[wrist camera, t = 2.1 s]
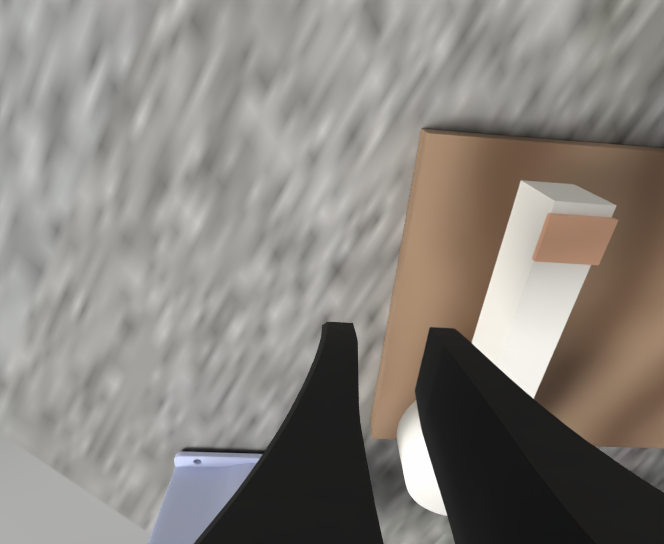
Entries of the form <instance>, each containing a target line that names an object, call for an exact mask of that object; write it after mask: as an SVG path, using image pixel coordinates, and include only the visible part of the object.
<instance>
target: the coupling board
mask: <svg viewBox="0 0 664 544" xmlns="http://www.w3.org/2000/svg"><path fill="white" fill-rule="evenodd" d="M521 180H523V181H537V182H551V183H564V184H574V185H576V186H578V187H581V188H583V189H585V190H587V191H589V192H591V193H593V194H595V195H597V196H599V197H601V198H603V199H605V200H607V201H609V202H611V203H613V204H615V205H617V206H616V208H615V211H614V213H613V215H612V218H616V219H618V223H617V225H616V227H615V229H614V232H613V234H612V236H611V239H610V241H609V243H608V245H607V248H606V250H605V252H604V254H603V257H602V259H601V261H600V264H599V265H591V266H590V269H589V271H588V273H587V276H586V278H585V280H584V283H583V285H582V287H581V290H580V292H579V294H578V297H577V299H576V301H575V304H574V306H573V308H572V311H571V313H570V315H569V318H568V320H567V322H566V325H565V327H564V329H563V332H562V334H561V336H560V339H559V341H558V343H557V345H556V348H555V350H554V352H553V355H552V357H551V359H550V362H549V364H548V366H547V369H546V371H545V373H544V376H543V378H542V380H541V383H540V385H539V387H538V390H537V392H536V394H535V397H534V400H536V401H537V402H538V403H539V404H540V405H542V406H543V407H544V408H545V409H547V410H548V411H549V412H550V413H552V414H553V415H554V416H555V417H557V418H558V419H559V420H560V421H562V422H563V423H564V424H565V425H567V426H568V427H569V428H570V429H572V430H573V431H574V432H576V433H577V434H578V435H580V436H581V437H582V438H584V439H585V440H586V441H588V442H589V443H591V444H592V445H593V446H609V447H638V448H664V148H656V147H643V146H631V145H618V144H606V143H593V142H581V141H568V140H556V139H543V138H531V137H519V136H506V135H494V134H481V133H469V132H456V131H444V130H431V129H421V134H420V140H419V146H418V151H417V157H416V163H415V168H414V174H413V180H412V186H411V191H410V197H409V203H408V208H407V214H406V220H405V226H404V231H403V237H402V243H401V248H400V254H399V260H398V266H397V271H396V277H395V283H394V288H393V294H392V300H391V306H390V311H389V317H388V323H387V329H386V334H385V340H384V346H383V351H382V357H381V363H380V369H379V374H378V380H377V386H376V391H375V397H374V403H373V409H372V414H371V420H370V426H371V434H372V439H397V427H398V424H399V421H400V419H401V417H402V415H403V414H404V413H405V411H406V410H407V408H408V407H409V406H410V405H411V404H412V403H413V402H414V401H416V396H415V387H416V383H417V379H418V374H419V370H420V366H421V362H422V358H423V353H424V349H425V345H426V341H427V336H428V332H429V328H430V327H439V328H455V329H456V330H457V331H458V332H460V333H461V334H462V335H463V336H464V337H465V338H467V339H468V340H469V341H470V342H471V343H472V340H473V337H474V333H475V330H476V327H477V323H478V320H479V317H480V313H481V310H482V307H483V304H484V300H485V297H486V294H487V290H488V287H489V284H490V281H491V277H492V274H493V271H494V267H495V264H496V261H497V257H498V254H499V251H500V248H501V244H502V241H503V238H504V234H505V231H506V228H507V225H508V221H509V218H510V215H511V211H512V208H513V205H514V201H515V198H516V195H517V192H518V188H519V185H520V182H521Z"/></svg>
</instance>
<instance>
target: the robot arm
mask: <svg viewBox="0 0 664 544" xmlns="http://www.w3.org/2000/svg"><path fill="white" fill-rule="evenodd" d="M415 396H416V402H417V408H418V414H419V419H420V425H421V430H422V434H423V437H424V441H425V444H426V447H427V451H428V454H429V457H430V461H431V464H432V467H433V470H434V474H435V477H436V480H437V483H438V487H439V490H440V493H441V497H442V500H443V503H444V506H445V510H446V513H447V516H448V519H449V523H450V526H451V530H452V534H453V537H454V541H455V544H664V493H663V492H661V491H660V490H658V489H657V488H655V487H654V486H652V485H650V484H649V483H647V482H646V481H644V480H643V479H641V478H640V477H638V476H637V475H635V474H634V473H632V472H631V471H629V470H628V469H626V468H625V467H623V466H622V465H620V464H619V463H617V462H616V461H614V460H613V459H612V458H610V457H609V456H607V455H606V454H605V453H603V452H602V451H600V450H599V449H598V448H596V447H595V446H593V445H592V444H591V443H589V442H588V441H586V440H585V439H584V438H582V437H581V436H580V435H578V434H577V433H576V432H574V431H573V430H572V429H570V428H569V427H568V426H567V425H565V424H564V423H563V422H562V421H560V420H559V419H558V418H557V417H555V416H554V415H553V414H552V413H550V412H549V411H548V410H547V409H545V408H544V407H543V406H542V405H540V404H539V403H538V402H537V401H536V400H534V399H533V398H532V397H531V396H530V395H529V394H527V393H526V392H525V391H524V390H523V389H522V388H520V387H519V386H518V385H517V384H516V383H515V382H514V381H512V380H511V379H510V378H509V377H508V376H507V375H506V374H505V373H504V372H502V371H501V370H500V369H499V368H498V367H497V366H496V365H495V364H494V363H493V362H491V361H490V360H489V359H488V358H487V357H486V356H485V355H484V354H483V353H482V352H481V351H480V350H478V349H477V348H476V347H475V346H474V345H473V344H472V343H471V342H470V341H469V340H468V339H467V338H465V337H464V336H463V335H462V334H461V333H460V332H458V331H457V330H456V329H455V328H439V327H430V328H429V332H428V336H427V341H426V345H425V349H424V353H423V358H422V362H421V366H420V370H419V374H418V379H417V383H416V387H415ZM174 462H175V469H174V472H173V475H172V477H171V480H170V483H169V486H168V489H167V492H166V494H165V497H164V500H163V503H162V506H161V508H160V511H159V514H158V517H157V520H156V522H155V525H154V528H153V531H152V534H151V536H150V539H149V542H148V544H383V539H382V535H381V530H380V525H379V521H378V516H377V512H376V507H375V502H374V497H373V491H372V486H371V481H370V476H369V471H368V465H367V460H366V454H365V448H364V442H363V436H362V430H361V424H360V414H359V391H358V341H357V336H356V332H355V329H354V326H353V323H340V322H326V323H325V324H324V325H322V334H321V340H320V344H319V347H318V350H317V353H316V356H315V359H314V361H313V363H312V366H311V368H310V371H309V373H308V375H307V378H306V380H305V382H304V384H303V386H302V388H301V390H300V392H299V394H298V396H297V398H296V400H295V402H294V404H293V405H292V407H291V409H290V411H289V413H288V415H287V416H286V418H285V420H284V422H283V423H282V425H281V427H280V428H279V430H278V432H277V433H276V435H275V436H274V438H273V439H272V441H271V443H270V444H269V446H268V447H267V449H266V450H265V452H264V453H263V454H249V453H216V452H184V451H183V452H179V453H177V454H176V456H175V459H174Z"/></svg>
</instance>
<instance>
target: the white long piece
mask: <svg viewBox="0 0 664 544" xmlns="http://www.w3.org/2000/svg"><path fill="white" fill-rule="evenodd" d="M616 206H617V205H615V204H613V203H611V202H609V201H607V200H605V199H603V198H601V197H599V196H597V195H595V194H593V193H591V192H589V191H587V190H585V189H583V188H581V187H578V186H576V185H574V184H564V183H551V182H537V181H523V180H521V182H520V185H519V188H518V192H517V195H516V198H515V201H514V205H513V208H512V211H511V215H510V218H509V221H508V225H507V228H506V231H505V234H504V238H503V241H502V244H501V248H500V251H499V254H498V257H497V261H496V264H495V267H494V271H493V274H492V277H491V281H490V284H489V287H488V290H487V294H486V297H485V300H484V304H483V307H482V310H481V313H480V317H479V320H478V323H477V327H476V330H475V333H474V337H473V340H472V344H473V345H474V346H475V347H476V348H477V349H478V350H480V351H481V352H482V353H483V354H484V355H485V356H486V357H487V358H488V359H489V360H490V361H491V362H493V363H494V364H495V365H496V366H497V367H498V368H499V369H500V370H501V371H502V372H504V373H505V374H506V375H507V376H508V377H509V378H510V379H511V380H512V381H514V382H515V383H516V384H517V385H518V386H519V387H520V388H522V389H523V390H524V391H525V392H526V393H527V394H529V395H530V396H531V397H532V398H533V399H534V397H535V394H536V392H537V390H538V387H539V385H540V383H541V380H542V378H543V376H544V373H545V371H546V369H547V366H548V364H549V362H550V359H551V357H552V355H553V352H554V350H555V348H556V345H557V343H558V341H559V339H560V336H561V334H562V332H563V329H564V327H565V325H566V322H567V320H568V318H569V315H570V313H571V311H572V308H573V306H574V304H575V301H576V299H577V297H578V294H579V292H580V290H581V287H582V285H583V283H584V280H585V278H586V276H587V273H588V271H589V269H590V266H591V265H599V264H600V261H601V259H602V257H603V254H604V252H605V250H606V248H607V245H608V243H609V241H610V239H611V236H612V234H613V232H614V229H615V227H616V225H617V223H618V219H616V218H612V215H613V213H614V211H615V208H616ZM397 443H398V448H399V453H400V458H401V463H402V468H403V473H404V478H405V483H406V487H407V490H408V492H409V494H410V495H411V497H412V498H413V499H414V500H415V501H416V502H417V503H418V504H419V505H421V506H422V507H424V508H426V509H428V510H430V511H432V512H435V513H438V514H441V515H446V516H447V513H446V510H445V506H444V503H443V500H442V497H441V493H440V490H439V487H438V483H437V480H436V477H435V474H434V470H433V467H432V464H431V461H430V457H429V454H428V451H427V447H426V444H425V441H424V437H423V434H422V430H421V425H420V419H419V414H418V408H417V402H416V401H414V402H413V403H412V404H411V405H410V406H409V407H408V408H407V410H406V411H405V413H404V414H403V415H402V417H401V419H400V421H399V424H398V427H397Z"/></svg>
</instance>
